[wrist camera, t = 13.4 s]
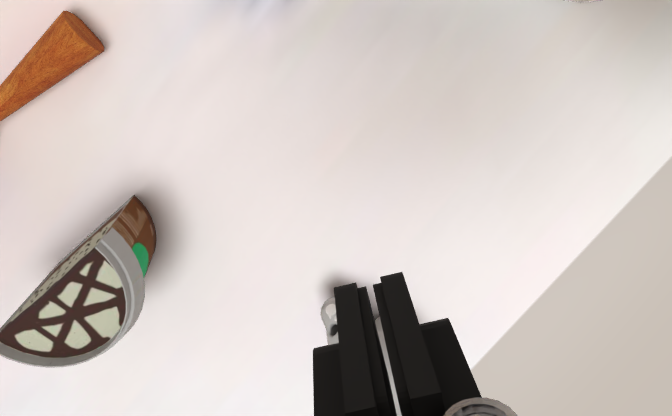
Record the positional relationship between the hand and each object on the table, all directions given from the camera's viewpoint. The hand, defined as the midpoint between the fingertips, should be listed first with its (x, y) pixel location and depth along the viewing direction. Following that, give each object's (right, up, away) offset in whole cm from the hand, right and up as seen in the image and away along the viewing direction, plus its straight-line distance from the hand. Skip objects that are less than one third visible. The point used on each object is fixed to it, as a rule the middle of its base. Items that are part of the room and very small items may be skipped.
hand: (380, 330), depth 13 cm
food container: (-19, -1, +32) cm, 37 cm away
